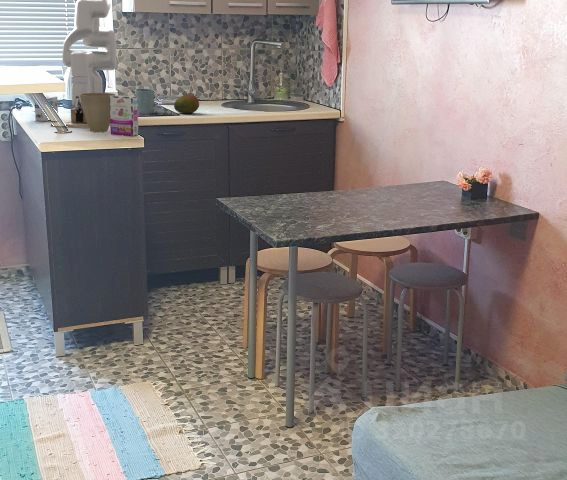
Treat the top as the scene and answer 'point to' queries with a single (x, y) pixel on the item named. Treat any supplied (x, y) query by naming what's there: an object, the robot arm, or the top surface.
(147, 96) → the blue-green cup
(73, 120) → the sanding block
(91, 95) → the plant pot
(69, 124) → the board
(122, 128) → the candy bar box
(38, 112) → the light bulb box
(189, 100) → the fruit
